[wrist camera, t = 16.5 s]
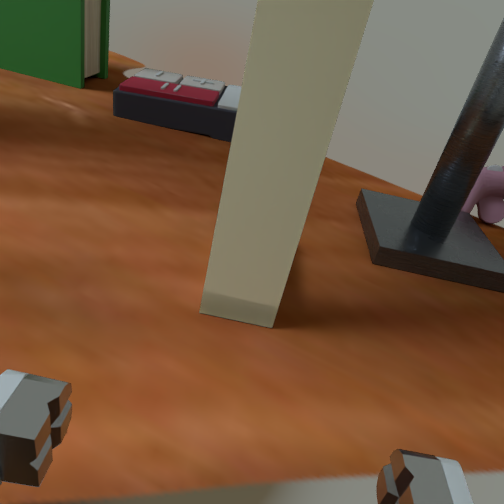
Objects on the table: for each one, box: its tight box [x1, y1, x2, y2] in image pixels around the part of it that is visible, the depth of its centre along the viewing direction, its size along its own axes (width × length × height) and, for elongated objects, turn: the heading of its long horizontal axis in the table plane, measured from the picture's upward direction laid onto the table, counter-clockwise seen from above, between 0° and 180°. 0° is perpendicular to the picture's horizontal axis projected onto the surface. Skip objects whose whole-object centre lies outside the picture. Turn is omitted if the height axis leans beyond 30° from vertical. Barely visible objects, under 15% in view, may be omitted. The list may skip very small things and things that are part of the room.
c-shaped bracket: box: [199, 0, 374, 328], centre depth 22 cm, size 4×9×20 cm, turn 175°
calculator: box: [113, 68, 242, 142], centre depth 51 cm, size 11×4×15 cm
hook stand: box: [356, 19, 504, 292], centre depth 30 cm, size 26×10×24 cm, turn 86°
